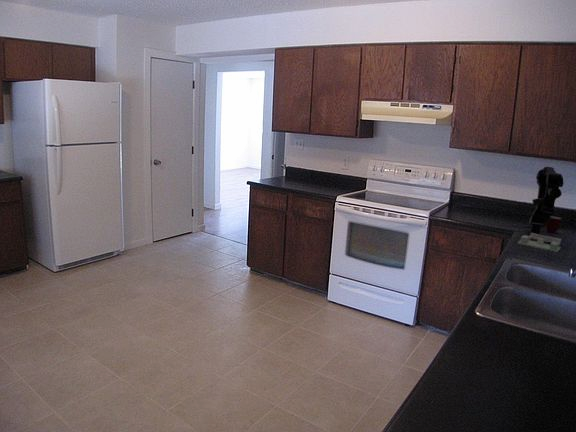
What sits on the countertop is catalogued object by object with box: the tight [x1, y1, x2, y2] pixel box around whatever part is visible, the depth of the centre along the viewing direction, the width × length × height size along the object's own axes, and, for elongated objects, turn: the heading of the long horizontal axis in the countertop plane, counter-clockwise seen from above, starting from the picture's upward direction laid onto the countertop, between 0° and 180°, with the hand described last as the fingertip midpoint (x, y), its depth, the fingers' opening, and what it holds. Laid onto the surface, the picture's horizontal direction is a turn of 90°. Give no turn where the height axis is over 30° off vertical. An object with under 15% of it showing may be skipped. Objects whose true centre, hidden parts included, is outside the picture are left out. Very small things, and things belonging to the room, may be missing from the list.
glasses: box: [529, 233, 562, 247], centre depth 273 cm, size 9×16×3 cm, turn 52°
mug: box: [545, 215, 563, 234], centre depth 299 cm, size 10×8×10 cm
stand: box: [517, 234, 562, 253], centre depth 261 cm, size 11×20×4 cm, turn 52°
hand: (544, 221), depth 271 cm, fingers open, 9 cm apart
